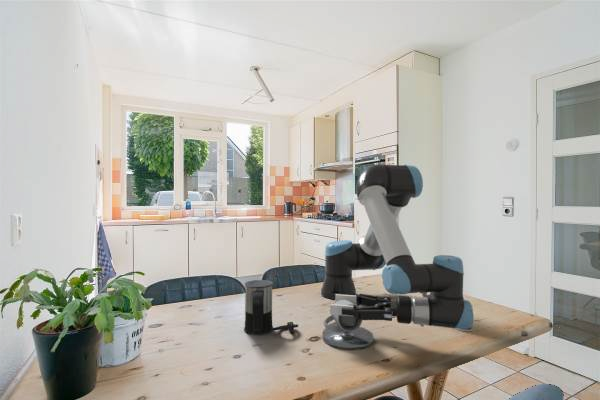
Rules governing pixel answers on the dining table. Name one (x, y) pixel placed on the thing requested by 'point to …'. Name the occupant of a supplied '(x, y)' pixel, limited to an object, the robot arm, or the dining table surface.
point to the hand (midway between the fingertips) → (333, 303)
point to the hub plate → (348, 338)
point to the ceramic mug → (343, 319)
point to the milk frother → (260, 308)
